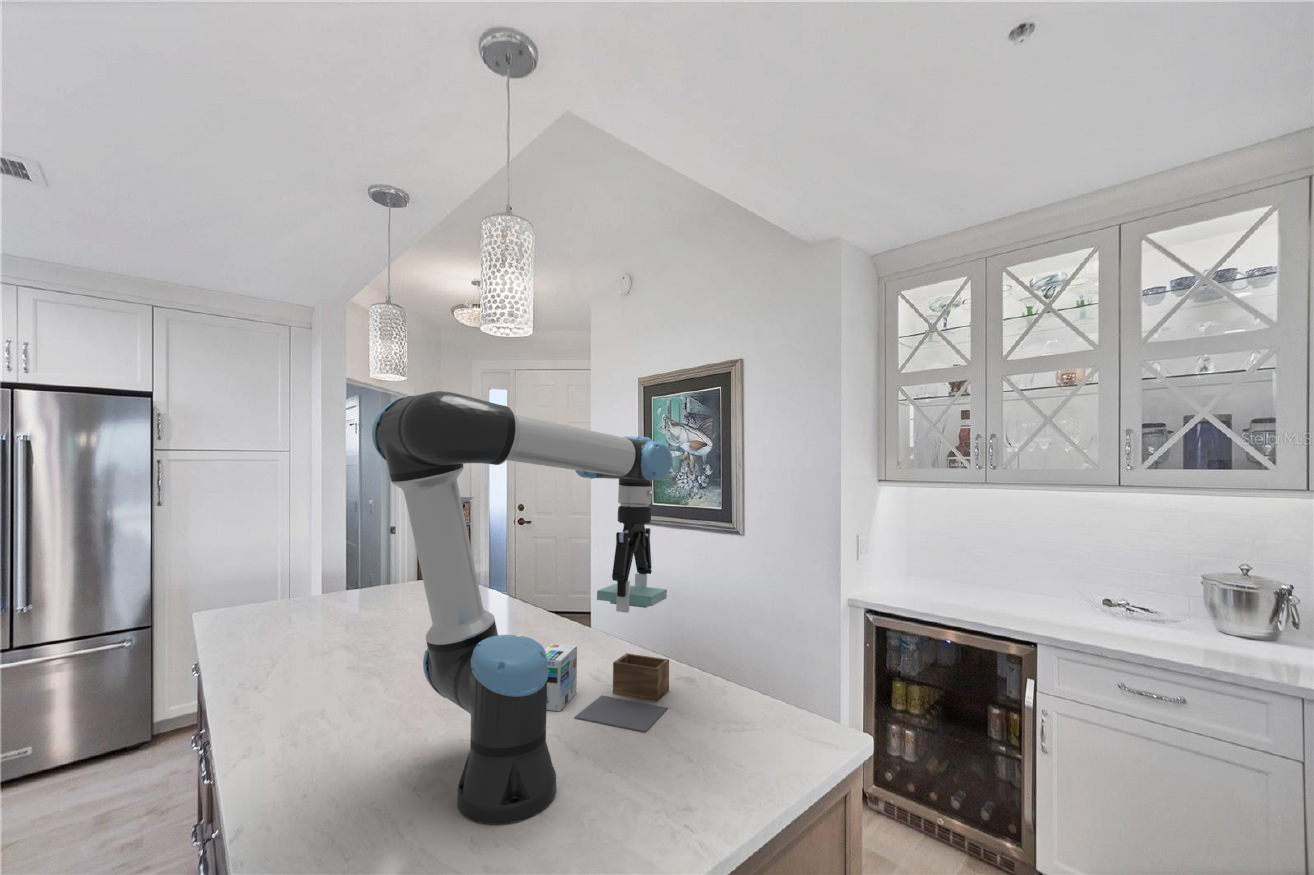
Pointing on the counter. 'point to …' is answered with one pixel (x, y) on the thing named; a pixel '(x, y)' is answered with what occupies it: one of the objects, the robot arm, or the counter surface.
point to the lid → (634, 595)
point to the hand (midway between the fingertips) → (631, 607)
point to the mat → (622, 713)
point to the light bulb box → (561, 675)
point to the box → (641, 677)
